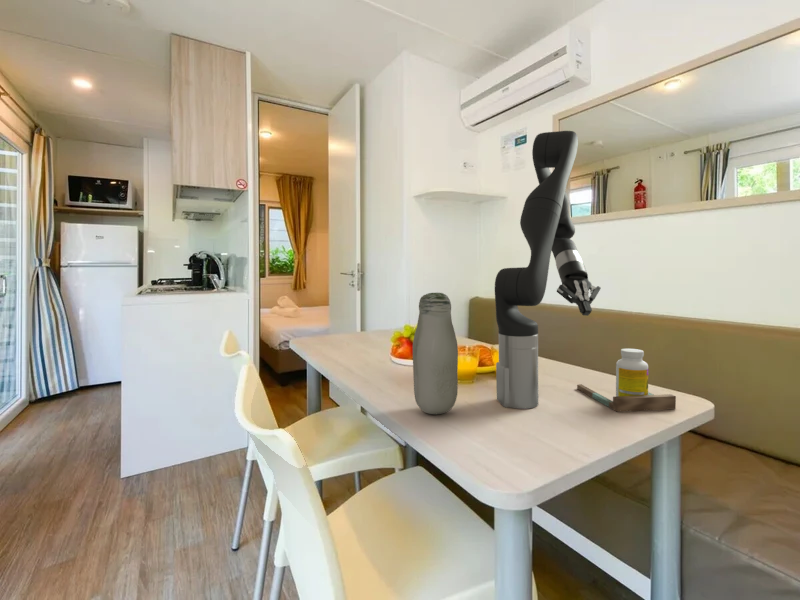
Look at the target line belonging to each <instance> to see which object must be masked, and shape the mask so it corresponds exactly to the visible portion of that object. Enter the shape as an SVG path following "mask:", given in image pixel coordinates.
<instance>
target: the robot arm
mask: <svg viewBox="0 0 800 600" xmlns="http://www.w3.org/2000/svg"><path fill="white" fill-rule="evenodd" d="M578 147H579V138H578V134H577V133H576V132H575V131H573V130H558V131H548V132H540V133H538V134H537V135H536V136H535V137H534V139H533V144H532V150H531V151H532V153H531V154H532V161H533V167H534V171H535V173H536V174H535V175H536V177H537V181H538V183H539V184H538V185H537V186H536V187H535V188H534V189H533V190H532V191H531V192H530V193H528V196H527V197H526V199H525V201H524V205H523V208H522V212H521V216H520V220H519V221H520V223H519V224H520V229H521V231H522V233H523V237H524V238H525V239H526V242H527V244H528V246H529V250H530V258H529V264H528V265H527V266H526V267H525V266H524V267H523V266H522V267H521V266H520V267H506V268H505V267H504V268H502V269H500V270H499V271H498V272H497V273H496V277H495V278H494V279H495V280H494V301H495V319H496V323H497V328H498V329H497V330H498V362H496V364H495V369H496V370H495V371H496V375H495V376H496V378H495V379H496V382H495V384H496V387H495V388H496V400H497V401H498V403H499V404H501V406H503V408H512V409H521V410H522V409H523V410H524V409H525V410H527V409H532V408H536V407H537V406H538V405H539V324H538V323H537V321H535V320H533V319H531V318H529V317H527V316H525V314H523V313H521V312H520V310H519V306H520V307H536V306H538V305H539V304H541V302H542V301H543V298H544V296H545V293H546V289H547V282H548V276H549V269H550V268H549V267H550V262H551V261H550V260H551V255H552V254H553V258H554V260H555V266H556V270H557V272H558V275H559V278H560V282H561V284H559V286H558V288H556V293H557V294H559V295H560V296H561V297H563V299H565V301H566V300H567V302H568V303H570V304H576V306H577V307H578V310H579V313H580V314H581V315H582V316H585V317H586V316H589V315H590V314H591V313H592V311H593V309H592V306H591V305H592V303H593V302H594V300H595V299H596V297H597V296H598V294H599V292H600V291H601V286H594V285H592V282H591V281H590V280H589V275H588V272H587V270H586V266H585V265H584V262H583V259H582V257H581V255H580V254H579V251H578V249H577V246H576V244H575V242H574V240H572V238H573V237H574V236H575V233H576V227H575V225H574V222H573V221H572V218H571V216H570V213H569V212H570V211H569V196H568V193H567V192H566V189H567V186H568V181H569V178H570V175H571V173H572V169H573V166H574V163H575V159H576V157H577V153H578ZM550 168H551V169H552V168H554V169H553V171H551V169H550ZM589 294H590V295H589Z"/></svg>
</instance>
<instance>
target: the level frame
mask: <svg viewBox="0 0 800 600" xmlns="http://www.w3.org/2000/svg"><path fill="white" fill-rule="evenodd" d="M576 389H577V390H578V391H580V392H582V393H583V394H585V395H587V396H589V397H591V398H593V400H596V401H598V402H599V403H601V404H603V405H605V406H607V407H608V408H609V409H611V410H613V411H616V412H617V413H619V412H620V413H621V412H622V413H623V412H638V411H639V412H643V411H660V410H661V411H663V410H667V411H668V410H676V401H677V399H676V398H677V397H676V395H674V394H671V393H669V394H668V393H667V394H654V393H652V392H649V391H648V395H640V396H617V397H616V396H613V397H612V400H611V399H609V398H608V397H605V396H604V395H602V394H600V393H598V392H596V391H595V390H593V389H591V388H589V387H587V386H586V385H584V384H580V383H579V384H577V385H576Z"/></svg>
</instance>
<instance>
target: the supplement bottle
mask: <svg viewBox="0 0 800 600" xmlns="http://www.w3.org/2000/svg"><path fill="white" fill-rule="evenodd" d="M644 356H645V352H644V350H642V349H637V348H628V347H627V348H621V349H620V357H621V358H620V359H618V360H617V361H616V363H615V397H617V396H640V395H648V392H649V364H648V362H646V361H644V360H643V358H644Z"/></svg>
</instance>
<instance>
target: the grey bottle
mask: <svg viewBox="0 0 800 600" xmlns="http://www.w3.org/2000/svg"><path fill="white" fill-rule="evenodd" d="M418 312H419V313H418V318H417V324H416V329H415V331H414V335H413V341H412V370H413V372H412V375H413V393H414V399H415V403H416V404H417V407H419V409H420V410H421V411H422V412H424V413H426V414H429V415H440V414H441V415H442V414H445V413H447V412H448V411H450V410H452V408H453V407H454V405H455V403H456V401H457V397H458V389H459V388H458V387H459V385H458V384H459V383H458V370H459V369H458V367H459V366H458V365H459V359H458V357H459V351H458V350H459V347H458V340H457V337H456V332H455V329H454V325H453V321H452V320H453V318H452V303H451V300H450V298H449V296H448V295H447V294H446V293H445V294H444V293H443V292H429V293H426V294H423V295H422V296H421V297H420V299H419V302H418Z"/></svg>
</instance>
